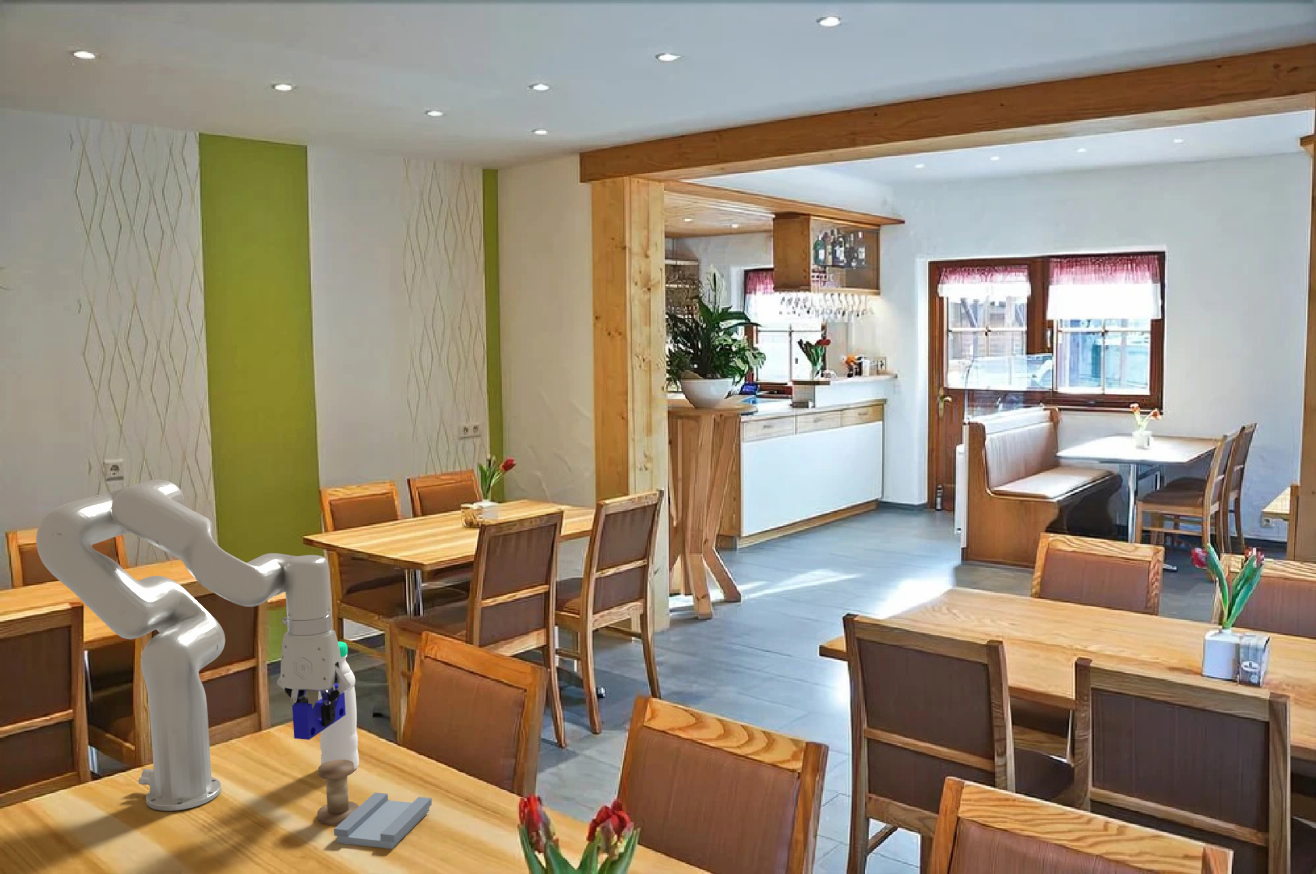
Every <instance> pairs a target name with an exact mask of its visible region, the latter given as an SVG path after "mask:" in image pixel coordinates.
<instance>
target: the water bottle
mask: <svg viewBox="0 0 1316 874" xmlns="http://www.w3.org/2000/svg"><path fill="white" fill-rule="evenodd" d="M338 644H339V649H340V656H341V664H342V673H343V675H344V676H345V678H346V679H347V680H348V682H349V683H350V688H348V689H347V690H346V691H344V693H345V712H346V715H345V716H343V717H342V718H340V719H339V720H337V721H336V722H335V723H333V724H332V725H330V726H329V727H327V728H326V729H324V730H323V731H321V732H320V738H319V743H320V745H319V746H320V751H321V755H320V765H322V764H323V763H325V762H328V761H332V760H340V759H343V760H350V761H352V762H353V763H354V771H355V770H356V769H357V768H359V763H360V755H359V749H358V744H359V738H358V732H357V726H358V725H357V723H358V722H357V720H358V719H357V718H358V716H357V698H356V689H355V685H356V678H355V674H354V672H353V671H352V669H351V668H350V665H349V663H348V662H347V660H346V659H347V657H348V648H349V647H348V645H347V642H343V641H338ZM317 693H318V694H317V695H318V696H317V697H318V698H317V699H318V701H319V700H320V699H322V696H321V692H320V691H318V692H317Z"/></svg>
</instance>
